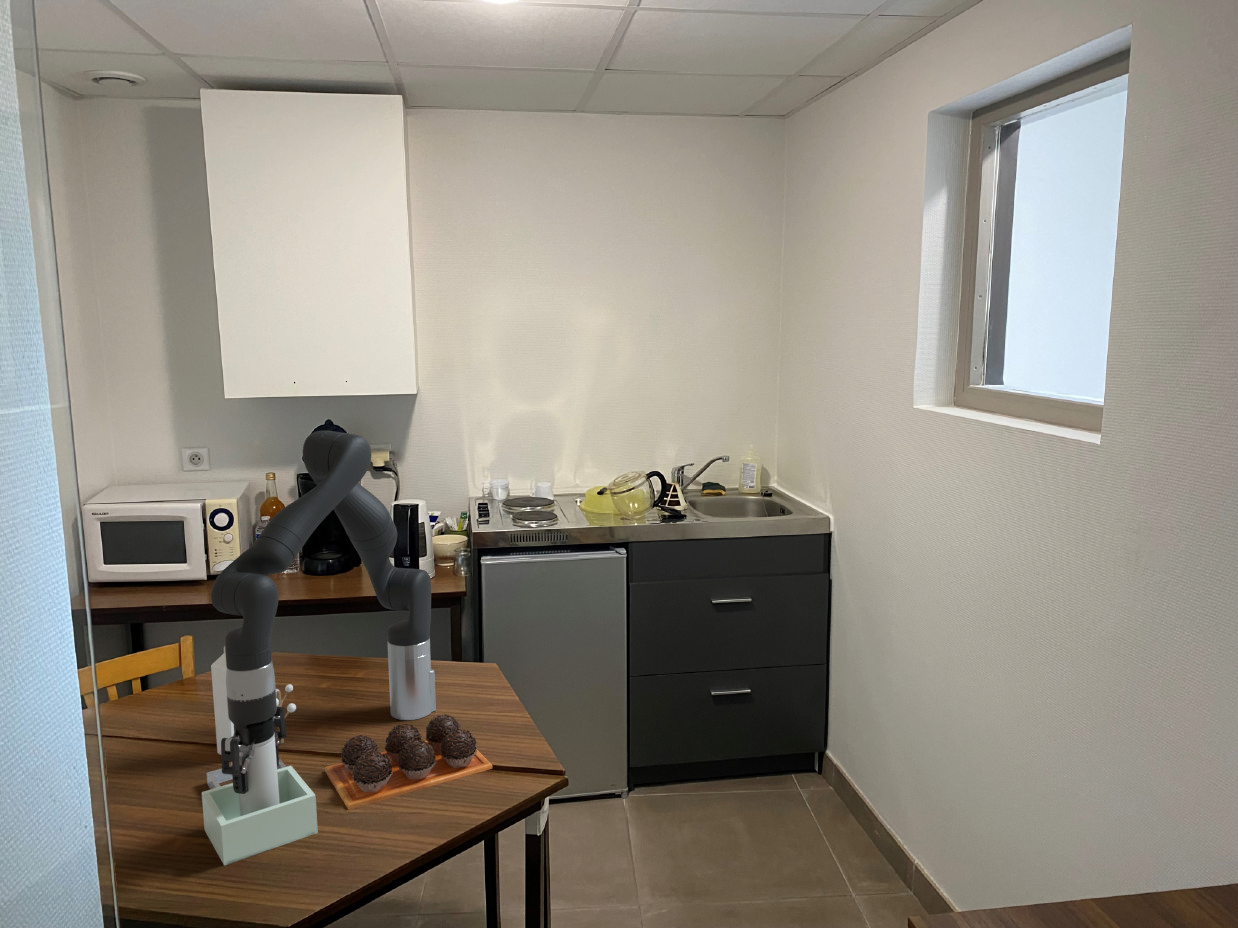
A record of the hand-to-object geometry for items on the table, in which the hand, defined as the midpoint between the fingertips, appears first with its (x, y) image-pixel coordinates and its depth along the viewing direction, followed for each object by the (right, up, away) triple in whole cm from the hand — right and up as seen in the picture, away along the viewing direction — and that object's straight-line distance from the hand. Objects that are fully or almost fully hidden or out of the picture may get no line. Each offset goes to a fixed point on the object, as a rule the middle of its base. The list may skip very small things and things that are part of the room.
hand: (257, 779), depth 147 cm
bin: (0, -10, +1) cm, 10 cm away
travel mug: (0, -9, +1) cm, 9 cm away
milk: (-16, -6, +30) cm, 35 cm away
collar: (-8, -7, +17) cm, 20 cm away
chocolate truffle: (+20, -7, +23) cm, 31 cm away
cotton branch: (-9, -5, +34) cm, 36 cm away
